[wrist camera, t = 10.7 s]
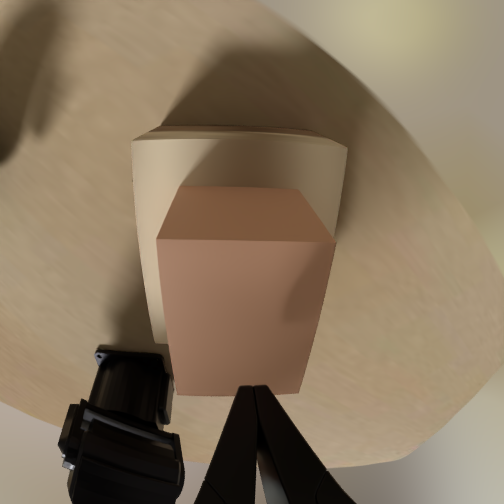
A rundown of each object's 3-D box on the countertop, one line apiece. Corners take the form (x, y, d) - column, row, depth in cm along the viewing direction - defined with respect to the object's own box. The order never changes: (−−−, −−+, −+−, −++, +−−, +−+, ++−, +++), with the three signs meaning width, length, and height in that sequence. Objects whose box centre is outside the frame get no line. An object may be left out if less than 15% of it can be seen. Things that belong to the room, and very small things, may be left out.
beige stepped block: (168, 284, 22) (154, 343, 17) (159, 126, 17) (131, 140, 11) (292, 284, 23) (311, 342, 18) (311, 130, 18) (347, 148, 12)
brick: (185, 317, 16) (177, 395, 11) (179, 185, 13) (156, 239, 8) (280, 317, 16) (298, 393, 12) (298, 189, 13) (336, 242, 9)
